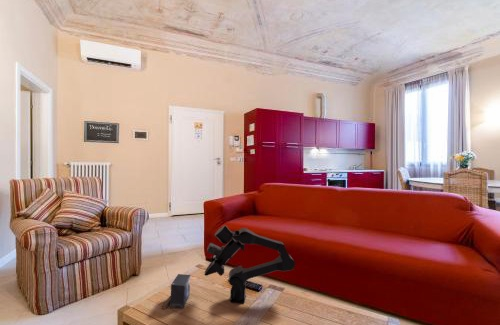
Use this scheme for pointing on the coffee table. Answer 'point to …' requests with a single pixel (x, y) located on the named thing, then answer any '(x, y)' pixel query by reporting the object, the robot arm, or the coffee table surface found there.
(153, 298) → the coffee table surface
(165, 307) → the stop rail
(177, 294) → the small box
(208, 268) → the robot arm
